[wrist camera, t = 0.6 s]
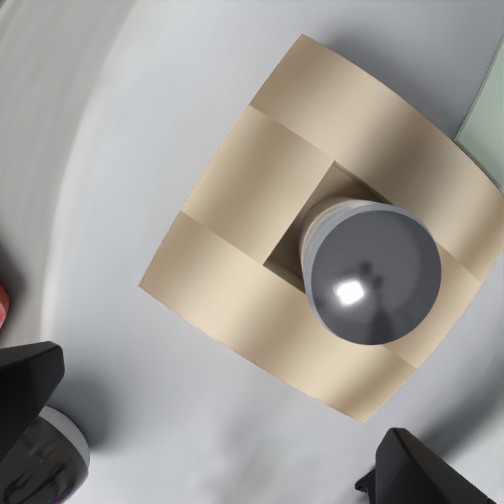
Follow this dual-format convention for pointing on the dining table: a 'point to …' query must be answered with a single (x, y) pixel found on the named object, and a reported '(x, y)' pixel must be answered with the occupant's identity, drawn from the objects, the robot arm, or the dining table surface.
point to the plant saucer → (3, 304)
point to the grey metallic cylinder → (368, 269)
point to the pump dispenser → (45, 462)
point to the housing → (294, 210)
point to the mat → (487, 123)
